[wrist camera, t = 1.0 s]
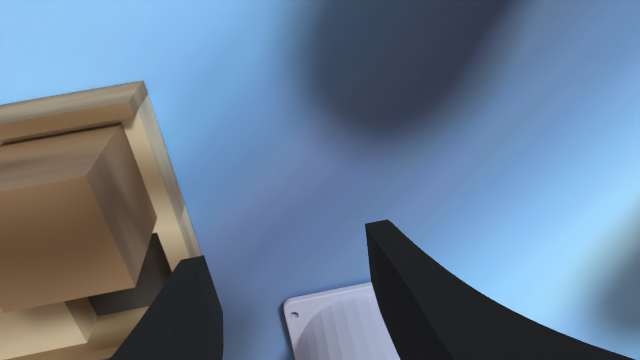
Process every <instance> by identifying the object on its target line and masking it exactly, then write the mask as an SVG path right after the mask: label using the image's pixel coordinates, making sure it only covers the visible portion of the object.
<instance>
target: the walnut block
mask: <svg viewBox="0 0 640 360" xmlns="http://www.w3.org/2000/svg"><path fill="white" fill-rule="evenodd" d="M156 220H157V215H156V213H155V210H154V207H153V205H152V202H151V199H150V197H149V194H148V191H147V189H146V186H145V183H144V181H143V178H142V175H141V173H140V170H139V167H138V165H137V162H136V159H135V157H134V154H133V151H132V149H131V146H130V143H129V141H128V138H127V135H126V133H125V130H124V127H123V125H122V122H120V123H114V124H108V125H103V126H97V127H91V128H86V129H80V130H74V131H69V132H63V133H57V134H52V135H46V136H40V137H35V138H29V139H23V140H18V141H12V142H6V143H3V144H2V145H0V307H1V309H2V310H3V312H4V313H7V312H12V311H17V310H22V309H27V308H32V307H37V306H42V305H48V304H53V303H58V302H63V301H68V300H73V299H78V298H83V297H88V296H93V295H98V294H103V293H108V292H114V291H119V290H124V289H129V288H134V287H135V286H136V283H137V280H138V277H139V274H140V271H141V267H142V264H143V261H144V258H145V255H146V252H147V248H148V245H149V242H150V239H151V236H152V233H153V230H154V226H155V223H156Z"/></svg>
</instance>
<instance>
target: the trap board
mask: <svg viewBox="0 0 640 360" xmlns="http://www.w3.org/2000/svg"><path fill="white" fill-rule="evenodd" d="M120 122H122V125H123V127H124V130H125V133H126V135H127V138H128V141H129V143H130V146H131V149H132V151H133V154H134V157H135V159H136V162H137V165H138V167H139V170H140V173H141V175H142V178H143V181H144V183H145V186H146V189H147V191H148V194H149V197H150V199H151V202H152V205H153V207H154V210H155V213H156V215H157V220H156V223H155V226H154V230H153V233H152V236H151V239H150V242H149V245H148V248H147V252H146V255H145V258H144V261H143V264H142V267H141V271H140V274H139V277H138V280H137V283H136V286H135V287H134V288H129V289H124V290H119V291H114V292H108V293H103V294H98V295H93V296H88V297H83V298H78V299H73V300H68V301H63V302H58V303H53V304H48V305H42V306H37V307H32V308H27V309H22V310H17V311H12V312H7V313H4V312H3V310H2V309H1V307H0V360H102V359H107V358H111V357H112V355H113V354H114V353H115V352H116V351H117V349H118V348H119V347H120V345H121V344H122V343H123V342H124V340H125V339H126V338H127V336H128V335H129V334H130V332H131V331H132V330H133V329H134V327H135V326H136V325H137V323H138V322H139V321H140V319H141V318H142V316H143V315H144V313H145V312H146V311H147V309H148V308H149V306H150V305H151V303H152V302H153V300H154V299H155V298H156V296H157V295H158V293H159V292H160V290H161V289H162V287H163V286H164V284H165V282H166V281H167V279H168V278H169V276H170V275H171V273H172V272H173V270H174V269H175V267H176V266H177V264H178V263H179V262H180V260H182V259H187V258H193V257H198V256H202V255H201V252H200V249H199V246H198V243H197V240H196V237H195V234H194V231H193V228H192V225H191V222H190V219H189V216H188V213H187V210H186V207H185V204H184V201H183V198H182V195H181V192H180V189H179V186H178V183H177V180H176V177H175V174H174V171H173V168H172V165H171V162H170V159H169V156H168V153H167V150H166V147H165V144H164V141H163V138H162V135H161V132H160V129H159V126H158V123H157V120H156V117H155V114H154V111H153V108H152V105H151V102H150V99H149V96H148V93H147V90H146V87H145V84H144V81H138V82H132V83H126V84H121V85H115V86H109V87H103V88H97V89H91V90H86V91H80V92H74V93H68V94H62V95H56V96H51V97H45V98H39V99H33V100H27V101H21V102H16V103H10V104H4V105H0V145H2V144H3V143H6V142H12V141H18V140H23V139H29V138H35V137H40V136H46V135H52V134H57V133H63V132H69V131H74V130H80V129H86V128H91V127H97V126H103V125H108V124H114V123H120Z"/></svg>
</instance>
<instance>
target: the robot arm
mask: <svg viewBox="0 0 640 360" xmlns="http://www.w3.org/2000/svg"><path fill="white" fill-rule="evenodd" d="M365 227H366V237H367V246H368V256H369V265H370V275H371V282H368V283H363V284H358V285H354V286H349V287H344V288H339V289H334V290H329V291H324V292H319V293H314V294H309V295H304V296H299V297H294V298H290V299H287V300H286V301H285V302H284V304H283V308H284V314H285V318H286V322H287V326H288V330H289V335H290V339H291V343H292V347H293V351H294V355H295V360H635V359H632V358H629V357H626V356H623V355H620V354H617V353H614V352H611V351H608V350H605V349H602V348H599V347H596V346H593V345H590V344H587V343H585V342H582V341H580V340H577V339H575V338H572V337H570V336H567V335H565V334H562V333H560V332H557V331H555V330H552V329H550V328H548V327H546V326H543V325H541V324H539V323H537V322H535V321H532V320H530V319H528V318H526V317H524V316H522V315H520V314H518V313H516V312H514V311H512V310H510V309H508V308H506V307H505V306H503V305H501V304H499V303H497V302H495V301H494V300H492V299H490V298H489V297H487V296H485V295H483V294H482V293H480V292H478V291H477V290H475V289H474V288H472V287H471V286H469V285H468V284H466V283H465V282H463V281H462V280H460V279H459V278H458V277H456V276H455V275H453V274H452V273H450V272H449V271H448V270H446V269H445V268H444V267H442V266H441V265H440V264H439V263H437V262H436V261H435V260H434V259H432V258H431V257H430V256H429V255H427V254H426V253H425V252H424V251H422V250H421V249H420V248H419V247H418V246H417V245H415V244H414V243H413V242H412V241H411V240H410V239H409V238H408V237H406V236H405V235H404V234H403V233H402V232H401V231H400V230H399V229H398V228H397V227H396V226H395V225H394V224H393V223H392V222H390V221H389V220H383V221H377V222H372V223H367V224H365ZM292 312H297V313H295V314H291V313H292ZM222 356H223V311H222V308H221V305H220V302H219V299H218V296H217V293H216V290H215V287H214V284H213V281H212V278H211V275H210V272H209V269H208V266H207V263H206V260H205V257H204V255H203V256H198V257H193V258H187V259H182V260H180V262H179V263H178V264H177V266H176V267H175V269H174V270H173V272H172V273H171V275H170V276H169V278H168V279H167V281H166V282H165V284H164V286H163V287H162V289H161V290H160V292H159V293H158V295H157V296H156V298H155V299H154V300H153V302H152V303H151V305H150V306H149V308H148V309H147V311H146V312H145V313H144V315H143V316H142V318H141V319H140V321H139V322H138V323H137V325H136V326H135V327H134V329H133V330H132V331H131V332H130V334H129V335H128V336H127V338H126V339H125V340H124V342H123V343H122V344H121V345H120V347H119V348H118V349H117V351H116V352H115V353H114V354H113V355H112V357H111V358H110V359H109V360H222Z"/></svg>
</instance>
